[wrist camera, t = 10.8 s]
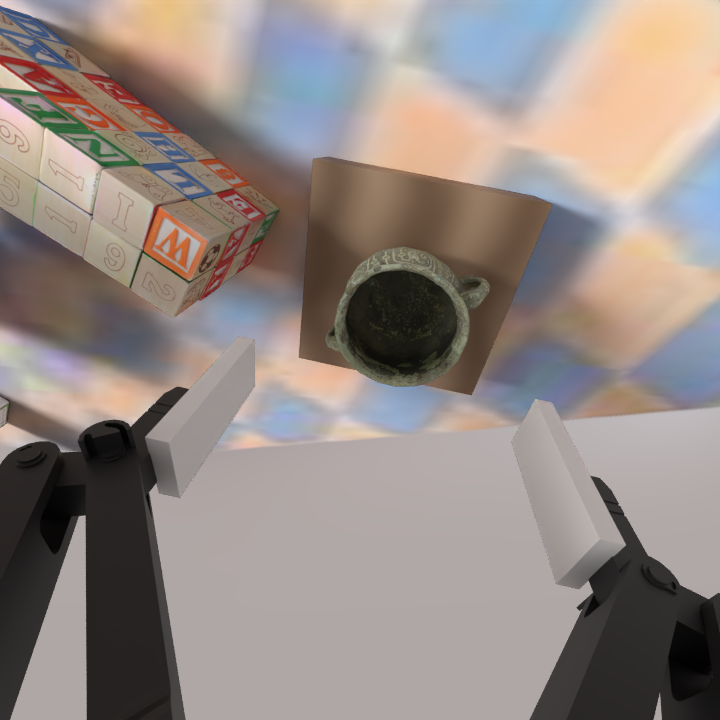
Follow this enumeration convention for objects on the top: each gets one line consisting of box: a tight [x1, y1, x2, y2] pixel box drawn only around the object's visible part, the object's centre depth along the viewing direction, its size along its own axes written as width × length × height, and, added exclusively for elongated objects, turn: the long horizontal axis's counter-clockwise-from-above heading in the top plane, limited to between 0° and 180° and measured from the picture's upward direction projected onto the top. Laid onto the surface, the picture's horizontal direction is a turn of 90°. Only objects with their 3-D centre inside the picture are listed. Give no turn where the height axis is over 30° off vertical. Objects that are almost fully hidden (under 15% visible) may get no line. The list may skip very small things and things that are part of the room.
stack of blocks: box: [0, 6, 279, 317], centre depth 24 cm, size 21×6×12 cm, turn 53°
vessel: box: [325, 247, 490, 387], centre depth 25 cm, size 12×9×6 cm
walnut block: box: [299, 157, 552, 395], centre depth 29 cm, size 16×16×5 cm
